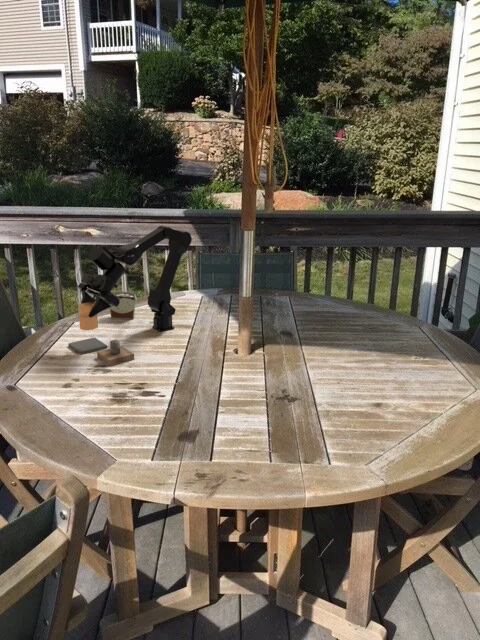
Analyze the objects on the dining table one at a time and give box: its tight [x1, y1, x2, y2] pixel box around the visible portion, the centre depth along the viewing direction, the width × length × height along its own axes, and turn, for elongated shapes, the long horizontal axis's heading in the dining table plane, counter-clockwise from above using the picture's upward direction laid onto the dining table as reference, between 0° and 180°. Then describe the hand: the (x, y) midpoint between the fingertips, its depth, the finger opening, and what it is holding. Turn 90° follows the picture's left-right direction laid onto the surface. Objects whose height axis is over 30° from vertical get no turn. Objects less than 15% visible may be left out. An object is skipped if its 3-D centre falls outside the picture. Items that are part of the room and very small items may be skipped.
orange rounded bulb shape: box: [77, 302, 99, 331], centre depth 184 cm, size 6×6×8 cm
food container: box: [109, 290, 138, 320], centre depth 221 cm, size 12×6×10 cm, turn 84°
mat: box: [67, 337, 108, 355], centre depth 190 cm, size 10×10×1 cm
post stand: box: [96, 339, 135, 366], centre depth 180 cm, size 9×9×6 cm
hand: (84, 314), depth 183 cm, fingers closed on orange rounded bulb shape, 6 cm apart
